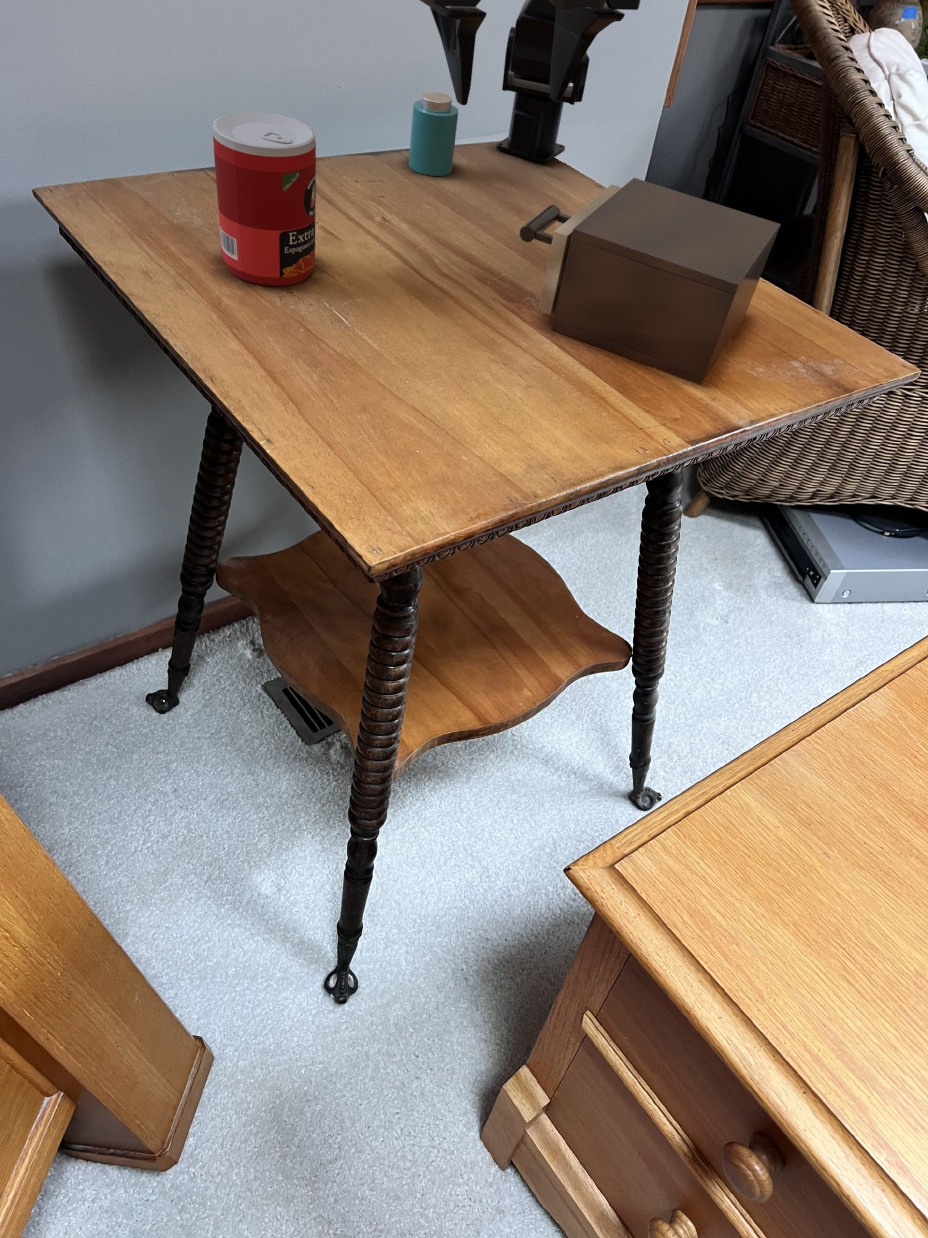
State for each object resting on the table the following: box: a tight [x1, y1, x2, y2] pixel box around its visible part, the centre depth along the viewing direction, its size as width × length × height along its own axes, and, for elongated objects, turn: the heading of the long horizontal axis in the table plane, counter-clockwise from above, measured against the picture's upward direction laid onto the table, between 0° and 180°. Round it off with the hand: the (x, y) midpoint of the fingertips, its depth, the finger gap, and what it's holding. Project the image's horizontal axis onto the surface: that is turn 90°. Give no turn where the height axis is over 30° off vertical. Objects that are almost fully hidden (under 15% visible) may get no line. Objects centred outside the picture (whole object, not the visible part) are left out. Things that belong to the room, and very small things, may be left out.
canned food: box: [212, 111, 317, 287], centre depth 71 cm, size 8×8×11 cm
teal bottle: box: [408, 91, 459, 177], centre depth 93 cm, size 5×5×7 cm
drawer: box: [519, 184, 622, 316], centre depth 75 cm, size 17×13×7 cm
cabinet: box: [550, 177, 782, 386], centre depth 74 cm, size 14×15×9 cm
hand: (509, 101), depth 72 cm, fingers open, 9 cm apart
